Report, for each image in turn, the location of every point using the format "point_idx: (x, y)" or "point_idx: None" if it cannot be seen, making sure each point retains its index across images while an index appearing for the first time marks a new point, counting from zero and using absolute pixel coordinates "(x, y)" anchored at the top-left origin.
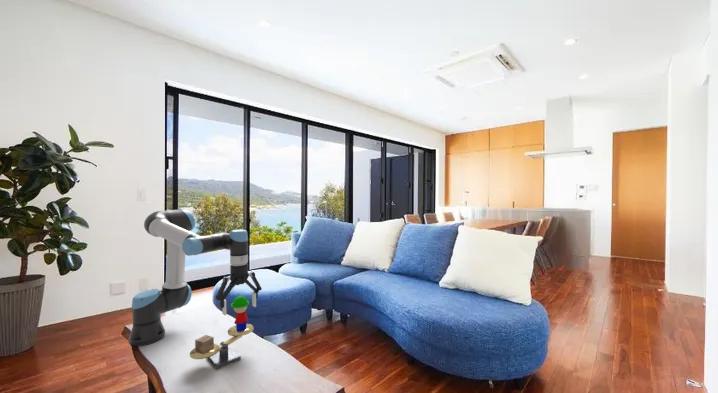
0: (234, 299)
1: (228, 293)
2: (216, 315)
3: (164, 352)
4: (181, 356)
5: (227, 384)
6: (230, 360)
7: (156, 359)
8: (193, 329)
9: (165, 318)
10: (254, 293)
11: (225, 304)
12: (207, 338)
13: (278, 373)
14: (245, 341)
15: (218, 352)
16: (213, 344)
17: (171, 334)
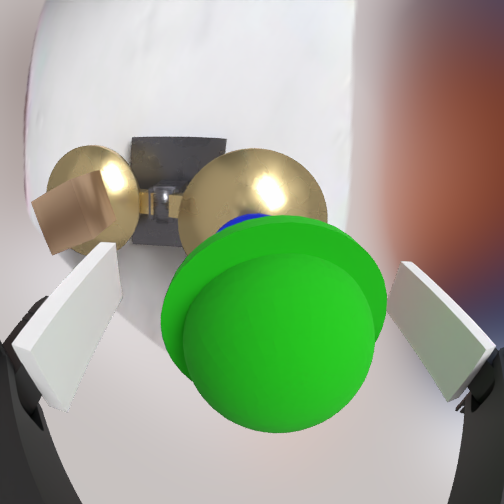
0: (209, 361)
1: (74, 498)
2: None
3: (71, 13)
4: (86, 66)
5: (143, 326)
6: (179, 246)
7: (43, 46)
8: None
9: None
10: (447, 401)
11: (76, 371)
12: (69, 230)
13: None
14: (306, 123)
15: (168, 152)
16: (107, 226)
17: None
